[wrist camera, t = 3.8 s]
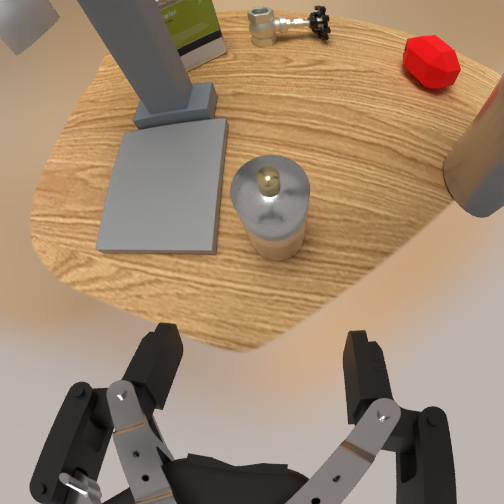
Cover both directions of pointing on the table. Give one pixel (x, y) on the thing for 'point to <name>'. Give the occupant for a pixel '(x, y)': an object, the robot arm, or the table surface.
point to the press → (148, 130)
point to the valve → (283, 25)
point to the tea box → (193, 30)
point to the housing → (272, 204)
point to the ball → (431, 61)
